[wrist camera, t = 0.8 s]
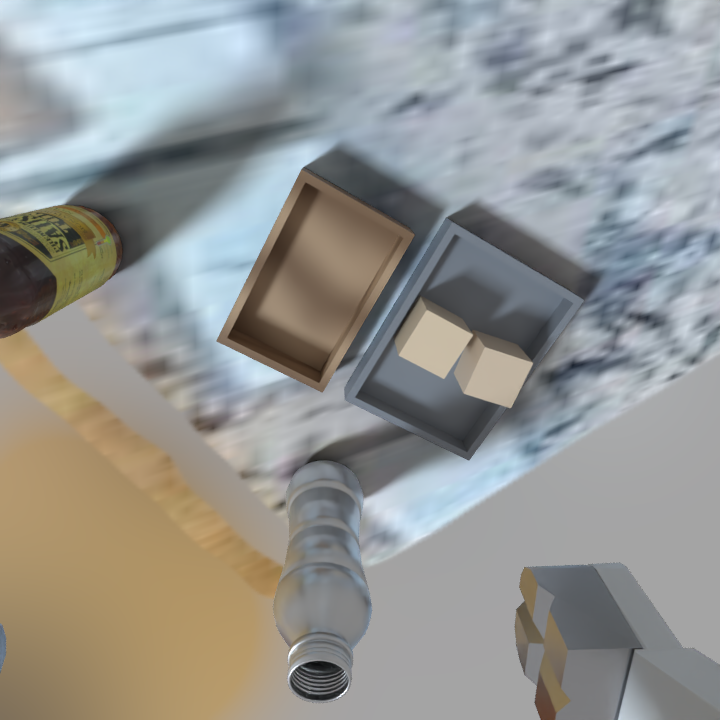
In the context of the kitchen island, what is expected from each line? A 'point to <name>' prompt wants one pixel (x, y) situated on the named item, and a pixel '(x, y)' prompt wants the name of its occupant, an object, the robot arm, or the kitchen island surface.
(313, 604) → the plastic bottle
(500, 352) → the beige cube
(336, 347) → the brown rectangular tray
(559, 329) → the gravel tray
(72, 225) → the sauce bottle
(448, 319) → the cream matte cube
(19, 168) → the kitchen island surface
